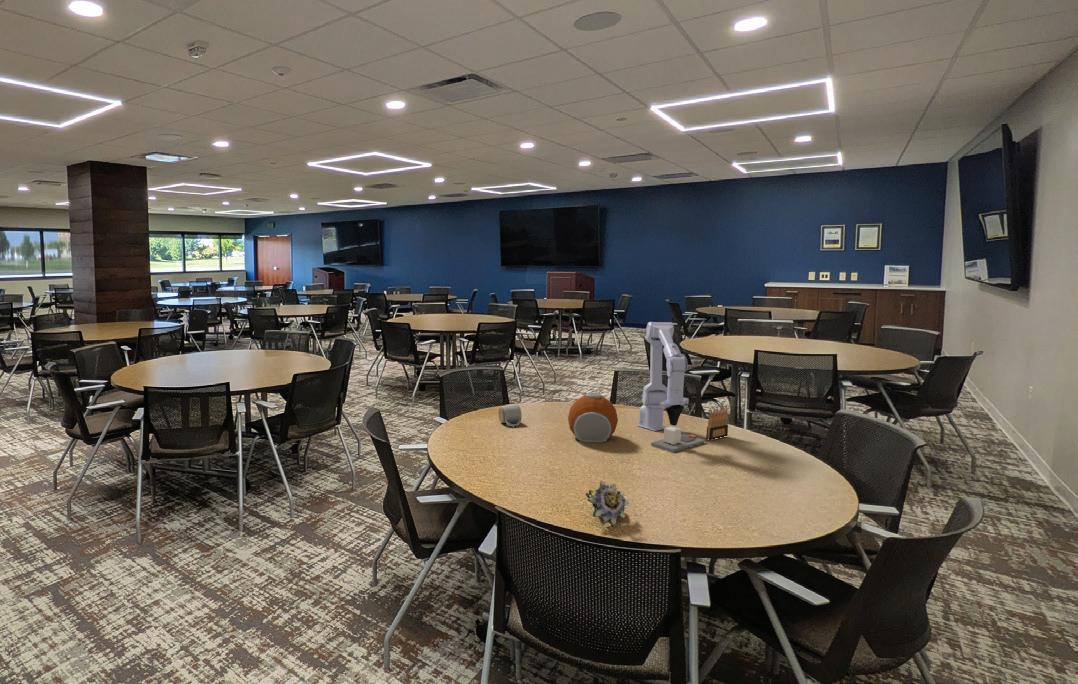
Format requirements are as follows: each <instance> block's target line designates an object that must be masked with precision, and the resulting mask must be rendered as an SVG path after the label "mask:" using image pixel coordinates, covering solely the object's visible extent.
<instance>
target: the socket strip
mask: <svg viewBox="0 0 1078 684" xmlns="http://www.w3.org/2000/svg"><path fill="white" fill-rule="evenodd" d="M663 440H664V438H662V439H659V440H655V441H652V442H650V446H651V447H654V448H657V449H661V450H663V451H666V450H667V452H669V451H670V453H672V452H674V453H677V452H679V450H680V451H683V450H682V449H684V450H686V449H685V448H687V449H689V448H688V447H690V448H692V447H691V446H694V445H697V446H699V445H698V444H700V445H702V444H701V443H704V442H706V441H707V440H706V438H705V439H704V438H700V437H699V436H698V437H697V435H695V434H686V433H681V441H680V443H676V445H675V446H672V445H671V444H666V442H664V441H663ZM706 443H707V442H706ZM704 444H705V443H704ZM694 447H695V446H694ZM676 451H677V452H676Z"/></svg>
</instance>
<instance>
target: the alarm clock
mask: <svg viewBox="0 0 1078 684" xmlns="http://www.w3.org/2000/svg"><path fill="white" fill-rule="evenodd" d="M567 421H568V426H569V427H568V428H569V429H570V431H571V433H572V434H573V435H574V437H575V438H576V439H577V440H578V441H581V442H593V443H594V442H595V443H603V442H607V441H608V440H609V439H610V437H612V436H613V434H614V433H615V432H616V428H617V425H618V422H619V420H618V412H617V409H616V408H615V406H614V405H613V402H611V401H610V400H609V399H608V398H606V397H605V396H603V395H602V394H601V393H599V392H587V393H586V394H585V395H583V396H580V397H579V398H577V399H576V400H575V401H574V403H573V404H572V405H571V406H570V408H569V411H568V416H567Z"/></svg>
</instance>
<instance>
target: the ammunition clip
mask: <svg viewBox="0 0 1078 684" xmlns="http://www.w3.org/2000/svg"><path fill="white" fill-rule="evenodd" d="M728 420H729V419H728V408H727V406H726V407H725V408H724V407H722V409H721V408H719V409H718V408H716V409H715V408H714V409H713V410H712V409H710V411H709V416H708V423H707V426H706V436H705V440H706V439H709V440H711V439H715V438H720V437H724V436H728V434H729V433H728V432H729V424H728ZM709 440H708V441H709Z"/></svg>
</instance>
